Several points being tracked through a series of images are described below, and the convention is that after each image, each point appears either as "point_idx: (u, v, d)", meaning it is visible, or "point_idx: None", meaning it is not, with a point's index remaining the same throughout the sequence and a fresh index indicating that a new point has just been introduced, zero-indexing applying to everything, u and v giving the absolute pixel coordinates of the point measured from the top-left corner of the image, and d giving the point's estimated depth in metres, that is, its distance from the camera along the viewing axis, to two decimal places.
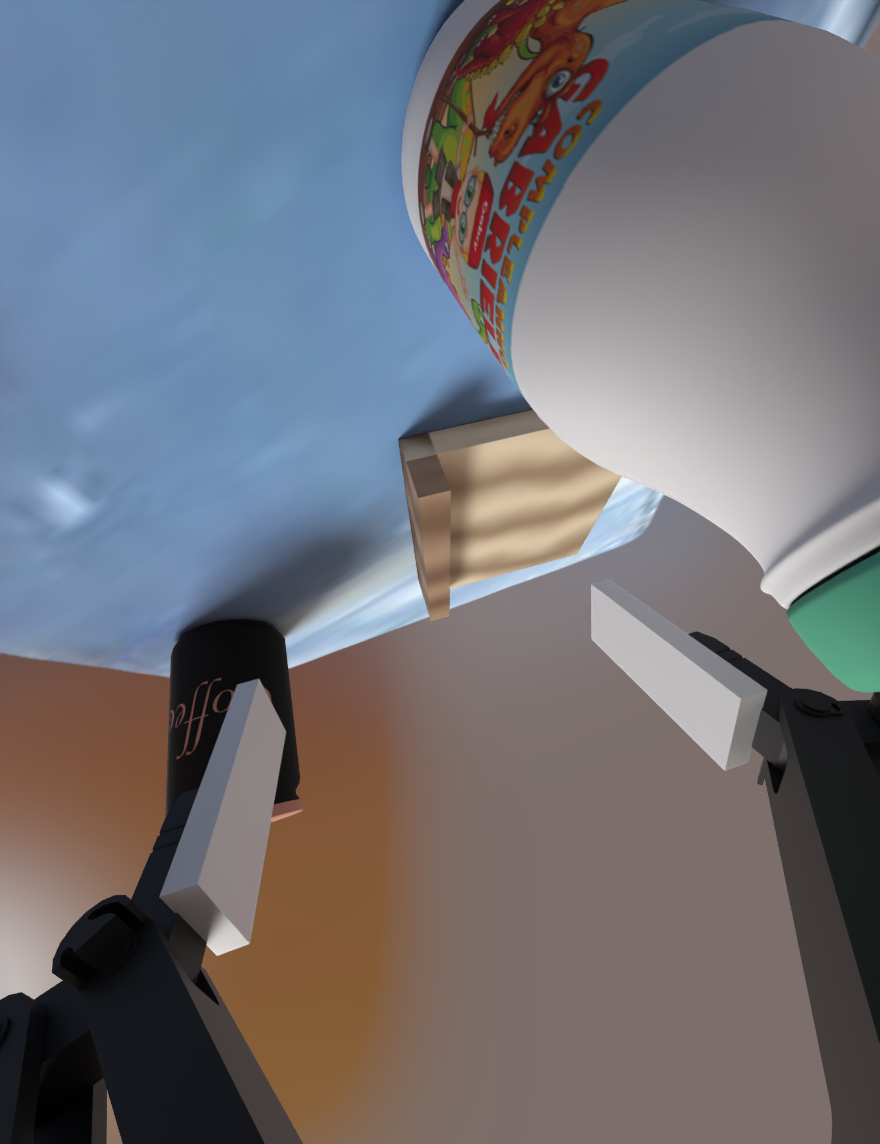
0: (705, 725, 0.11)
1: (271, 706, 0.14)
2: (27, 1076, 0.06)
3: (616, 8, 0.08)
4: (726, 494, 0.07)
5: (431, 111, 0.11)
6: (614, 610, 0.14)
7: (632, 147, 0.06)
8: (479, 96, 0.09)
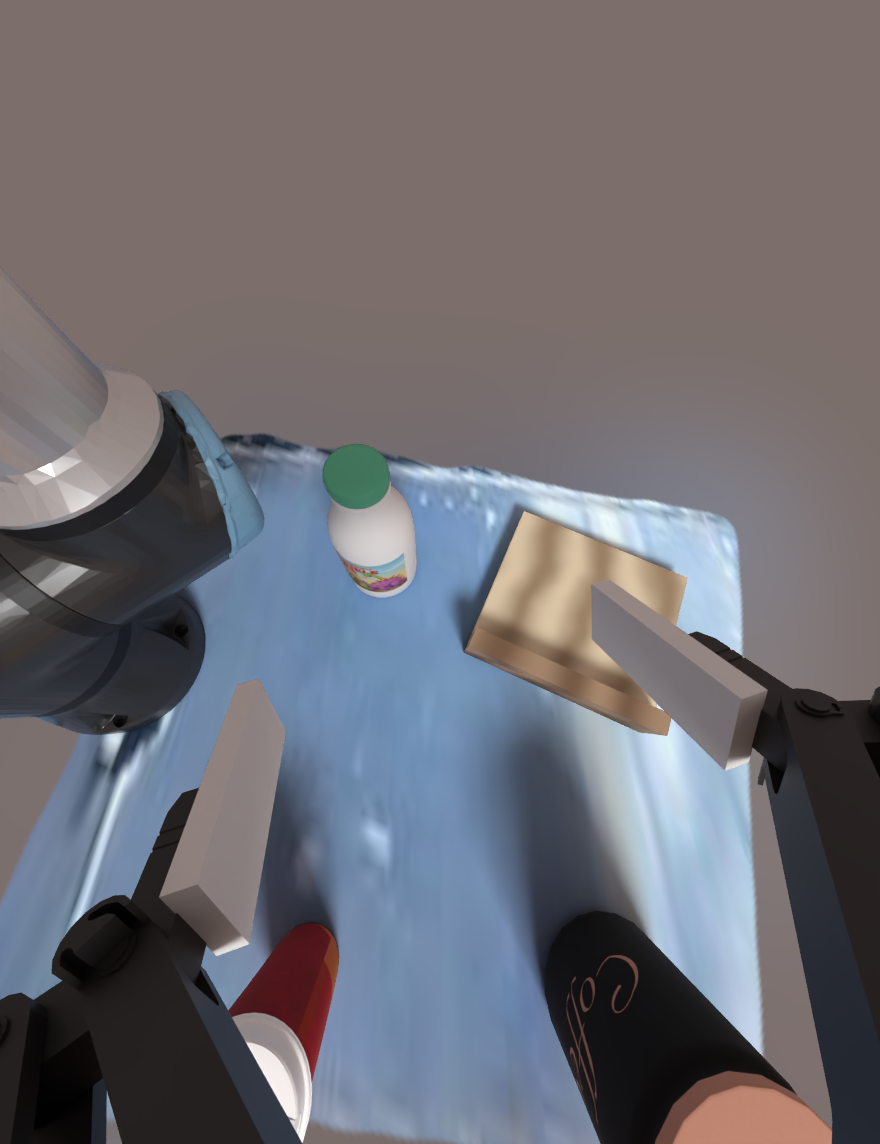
0: (705, 725, 0.11)
1: (271, 706, 0.14)
2: (27, 1076, 0.06)
3: None
4: (354, 520, 0.29)
5: (351, 577, 0.42)
6: (614, 610, 0.14)
7: None
8: None
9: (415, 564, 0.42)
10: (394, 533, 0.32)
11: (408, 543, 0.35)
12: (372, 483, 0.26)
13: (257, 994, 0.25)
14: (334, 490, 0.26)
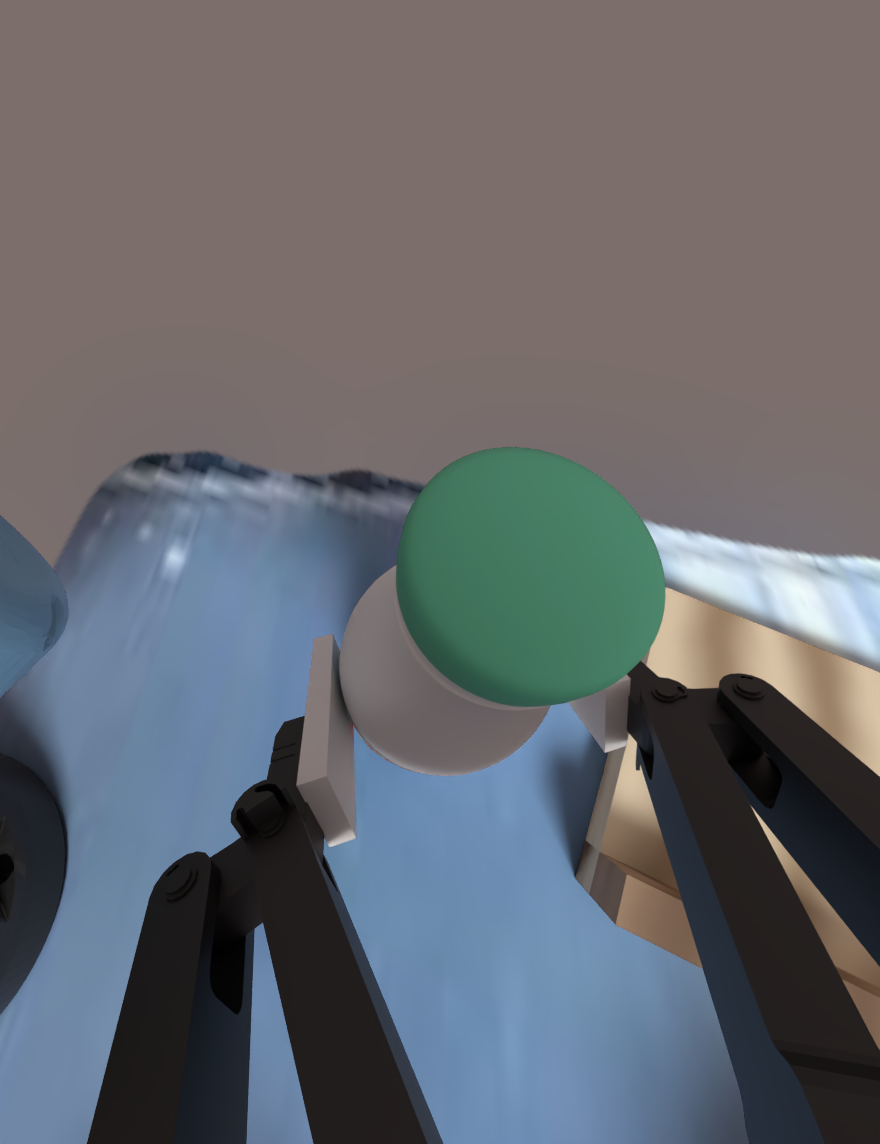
0: (589, 712, 0.12)
1: None
2: (208, 921, 0.08)
3: None
4: (469, 707, 0.08)
5: None
6: None
7: (342, 688, 0.13)
8: None
9: None
10: (544, 711, 0.11)
11: None
12: (629, 615, 0.06)
13: None
14: (471, 646, 0.05)
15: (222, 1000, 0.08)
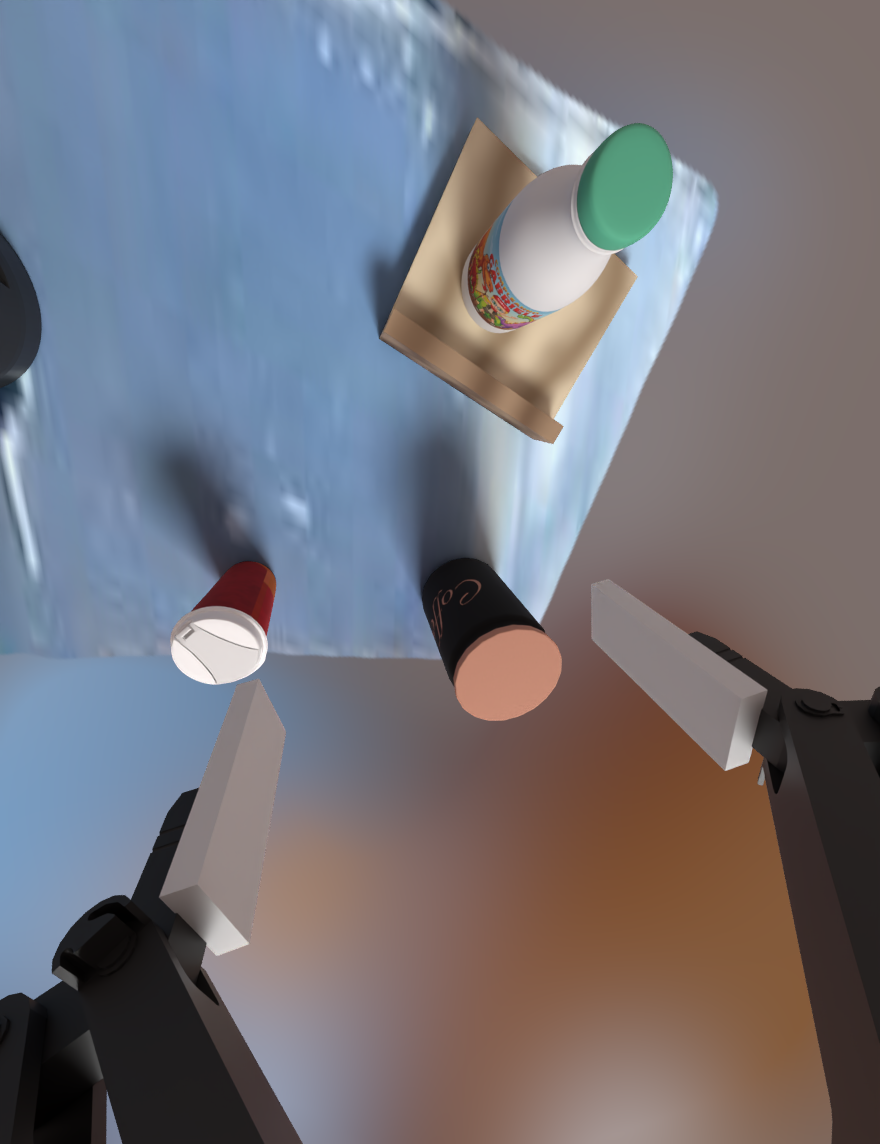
0: (705, 725, 0.11)
1: (271, 705, 0.14)
2: (27, 1076, 0.06)
3: (486, 243, 0.29)
4: (580, 257, 0.23)
5: (474, 306, 0.35)
6: (614, 610, 0.14)
7: (505, 257, 0.26)
8: (479, 288, 0.32)
9: None
10: (599, 273, 0.26)
11: None
12: (651, 214, 0.20)
13: (215, 597, 0.35)
14: (604, 221, 0.20)
15: None
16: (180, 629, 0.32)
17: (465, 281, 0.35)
